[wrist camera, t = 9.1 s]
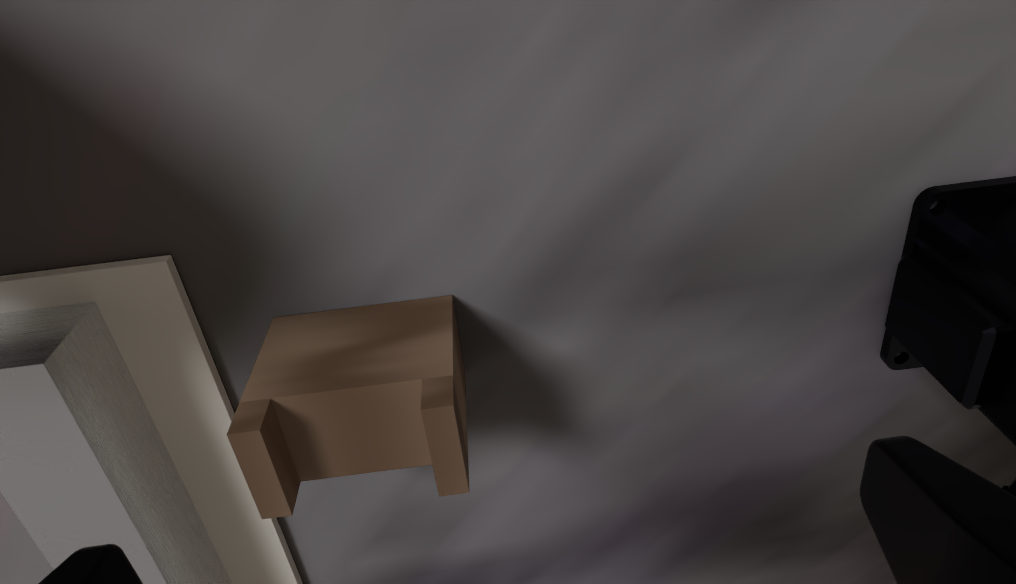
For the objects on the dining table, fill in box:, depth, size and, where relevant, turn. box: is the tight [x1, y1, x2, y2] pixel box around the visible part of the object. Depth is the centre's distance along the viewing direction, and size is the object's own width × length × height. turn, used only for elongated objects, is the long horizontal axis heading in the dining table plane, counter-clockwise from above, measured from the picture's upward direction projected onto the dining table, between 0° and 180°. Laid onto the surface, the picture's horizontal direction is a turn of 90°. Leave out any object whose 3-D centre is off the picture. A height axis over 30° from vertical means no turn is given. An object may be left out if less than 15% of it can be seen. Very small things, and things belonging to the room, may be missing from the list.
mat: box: [0, 255, 303, 584], centre depth 26 cm, size 8×24×1 cm, turn 6°
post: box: [227, 295, 469, 519], centre depth 20 cm, size 6×3×5 cm, turn 96°
